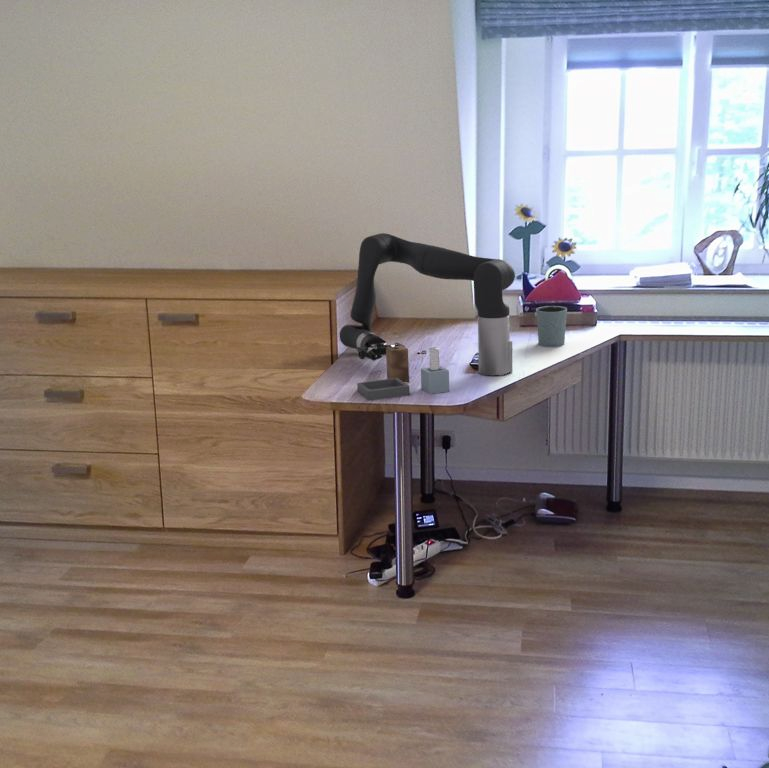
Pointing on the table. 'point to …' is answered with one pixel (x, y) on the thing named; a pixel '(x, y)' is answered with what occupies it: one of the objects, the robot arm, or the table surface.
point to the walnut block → (397, 363)
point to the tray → (383, 388)
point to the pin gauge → (434, 359)
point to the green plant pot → (551, 325)
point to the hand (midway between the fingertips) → (388, 355)
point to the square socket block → (435, 380)
